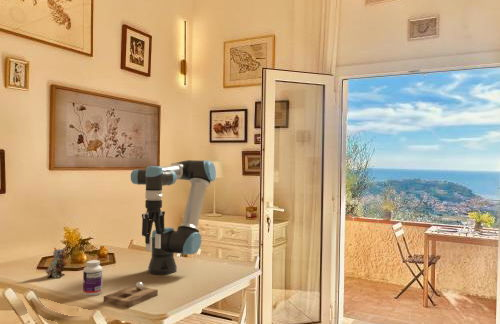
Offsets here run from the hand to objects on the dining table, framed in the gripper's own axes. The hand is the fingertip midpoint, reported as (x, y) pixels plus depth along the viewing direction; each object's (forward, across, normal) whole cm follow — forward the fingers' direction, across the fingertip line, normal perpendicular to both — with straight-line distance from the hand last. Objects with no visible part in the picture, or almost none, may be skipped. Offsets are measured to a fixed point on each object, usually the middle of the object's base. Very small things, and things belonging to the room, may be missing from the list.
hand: (153, 249), depth 192 cm
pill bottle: (+19, -17, +20) cm, 32 cm away
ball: (+16, -9, 0) cm, 19 cm away
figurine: (+19, -7, +57) cm, 61 cm away
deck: (+19, -14, 0) cm, 23 cm away
